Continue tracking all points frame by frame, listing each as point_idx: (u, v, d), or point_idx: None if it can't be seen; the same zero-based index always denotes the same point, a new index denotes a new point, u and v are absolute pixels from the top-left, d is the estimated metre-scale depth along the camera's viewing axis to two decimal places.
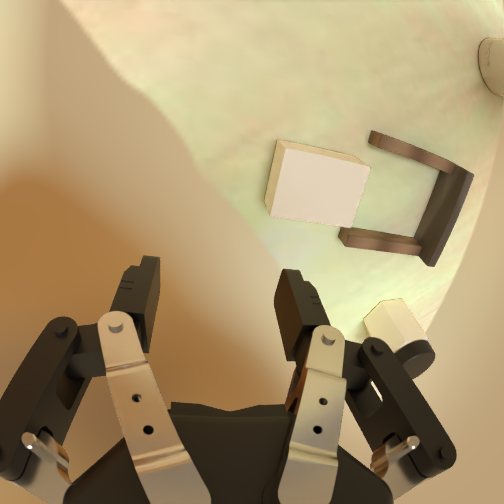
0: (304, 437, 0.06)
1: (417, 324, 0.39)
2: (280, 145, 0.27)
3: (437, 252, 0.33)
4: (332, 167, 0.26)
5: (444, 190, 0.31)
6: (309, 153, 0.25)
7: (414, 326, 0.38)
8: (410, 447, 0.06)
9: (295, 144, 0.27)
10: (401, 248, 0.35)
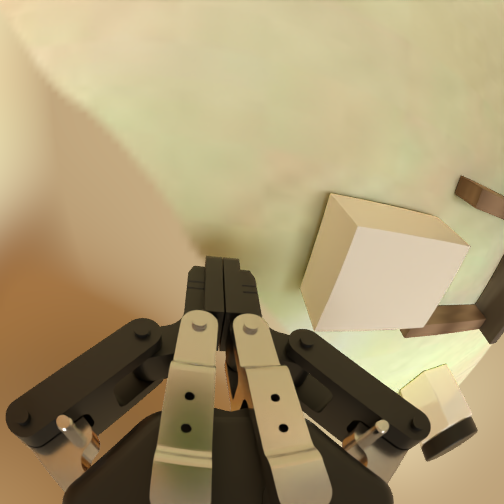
0: (275, 440, 0.06)
1: (462, 398, 0.26)
2: (340, 210, 0.15)
3: (503, 328, 0.21)
4: (422, 253, 0.14)
5: None
6: (394, 233, 0.13)
7: (459, 401, 0.26)
8: (382, 433, 0.06)
9: (362, 205, 0.15)
10: (465, 326, 0.23)
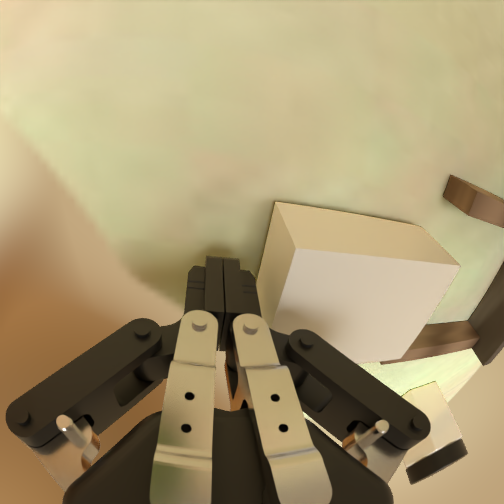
0: (274, 440, 0.06)
1: (452, 419, 0.24)
2: (282, 225, 0.12)
3: (499, 348, 0.18)
4: (394, 279, 0.11)
5: None
6: (352, 255, 0.10)
7: (448, 423, 0.24)
8: (382, 433, 0.06)
9: (315, 216, 0.13)
10: (455, 347, 0.20)
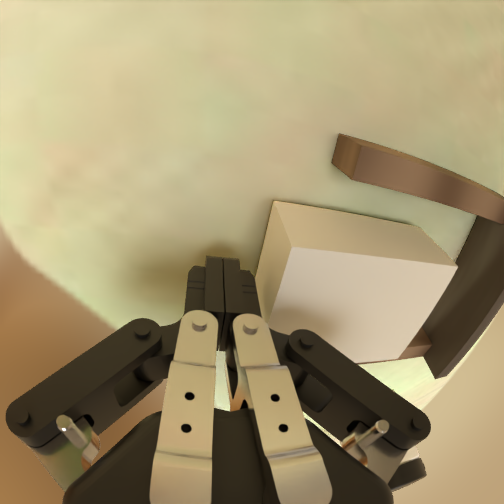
0: (274, 440, 0.06)
1: None
2: (279, 223, 0.12)
3: (455, 359, 0.17)
4: (391, 278, 0.11)
5: (484, 251, 0.15)
6: (348, 255, 0.10)
7: None
8: (382, 433, 0.06)
9: (313, 215, 0.13)
10: None
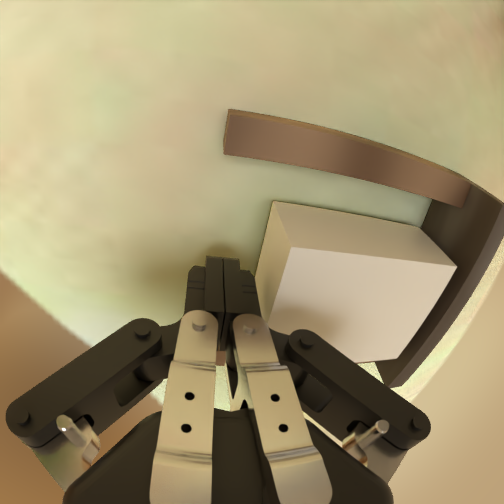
0: (274, 440, 0.06)
1: None
2: (278, 224, 0.12)
3: (408, 368, 0.16)
4: (390, 278, 0.11)
5: (440, 242, 0.14)
6: (347, 255, 0.11)
7: None
8: (382, 433, 0.06)
9: (312, 215, 0.13)
10: None
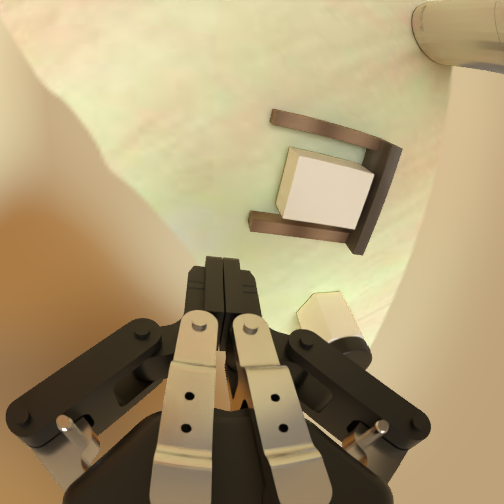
0: (274, 440, 0.06)
1: (351, 319, 0.39)
2: (293, 153, 0.29)
3: (363, 238, 0.33)
4: (339, 174, 0.29)
5: (369, 169, 0.31)
6: (320, 161, 0.28)
7: (347, 321, 0.38)
8: (382, 433, 0.06)
9: (306, 152, 0.30)
10: (321, 234, 0.35)
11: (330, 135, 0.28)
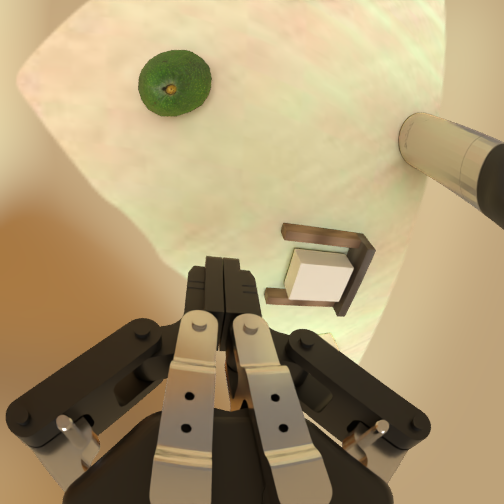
0: (274, 440, 0.06)
1: None
2: (297, 256, 0.44)
3: (344, 306, 0.48)
4: (328, 271, 0.43)
5: (352, 259, 0.46)
6: (315, 265, 0.42)
7: None
8: (382, 433, 0.06)
9: (306, 253, 0.45)
10: (315, 302, 0.50)
11: (323, 243, 0.43)
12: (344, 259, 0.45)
